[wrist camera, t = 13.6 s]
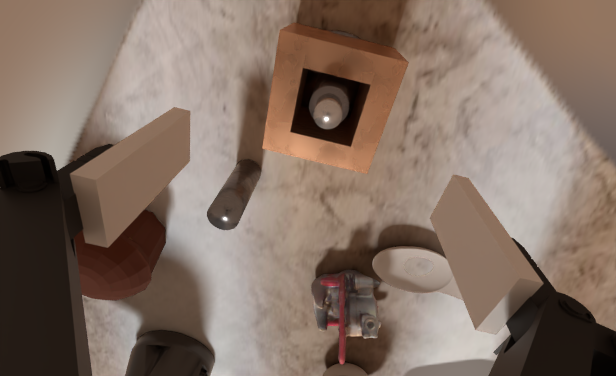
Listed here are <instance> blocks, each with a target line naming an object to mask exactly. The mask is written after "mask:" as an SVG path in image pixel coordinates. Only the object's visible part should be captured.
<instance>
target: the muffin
mask: <svg viewBox="0 0 616 376" xmlns="http://www.w3.org/2000/svg"><path fill="white" fill-rule="evenodd" d="M74 241H75V245H76V253H77V261H78V269H79V277H80V284H81V292H82V295H84V296H87V297H90V298H94V299H102V300H119V299H123V298H126V297H129V296H132V295H135V294H137V293H139V292H140V291H143V290H145V289H146V287H147V286H148V284H149V282H150V281H151V273H152V271H153V269H154V267H155V265H156V262H157V260H158V258H159V256H160V254H161V252H162V250H163V248H164V245H165V243H166V241H165V227H164V226H163V225H162V224H161V223H160V222H159V221H158V219H157V218H156V216H155V215H154V213H152V212H150V211H147V210H145V209H144V210H143V211H142V212H141V213H140V214H139V215H138V216H137V218H136V219H135V220H134V221H133V222H132V223H131V224H130V225H129V226H128V227H127V228H126V229H125V230H124V231H123V232H122V233H121V234H120V236H119V237H118V238H117V239H116V240H115V241H114V242H113V243H112V244H111V245H110V246H109V247H108V248H107V247H102V246H98V245H93V244H89V243H85V238H84V234H83V230H82V231H80V232H79V233H78V234H77V235H76V236H75V237H74Z"/></svg>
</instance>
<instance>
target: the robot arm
mask: <svg viewBox="0 0 616 376" xmlns="http://www.w3.org/2000/svg"><path fill="white" fill-rule="evenodd" d="M189 161H190V111H188V110H184V109H180V108H176V107H174V108H172V109H171V110H169V111H168V112H166V113H165V114H163V115H161V116H160V117H158V118H157V119H155V120H154V121H152V122H150V123H149V124H147V125H146V126H144V127H143V128H141V129H139V130H138V131H136V132H135V133H133V134H132V135H130V136H128V137H127V138H125V139H124V140H122V141H121V142H119V143H117V144H116V145H112V144H108V145H104V146H101V147H97V148H95V149H93V150H91V151H90V152H88V153H86V154H85V156H84V155H83V156H81V157H80V158H78V159H77V161H73V162H71V163H70V164H68V165H66V166H65V167H63V168H61V169H60V170H58V171H57V170H56V166H55V162H54V159H53V157H52V156H51V155H49V154H47V153H45V152H39V151H21V152H13V153H10V154H6V155H3V156H1V157H0V376H92V370H91V362H90V355H89V347H88V339H87V331H86V323H85V316H84V308H83V300H82V292H81V284H80V277H79V269H78V261H77V253H76V245H75V241H74V237H75V236H76V235H77V234H78V233H79V232H80V231H82V230H83V234H84V238H85V243H89V244H93V245H98V246H102V247H107V248H108V247H109V246H110V245H111V244H112V243H113V242H114V241H115V240H116V239H117V238H118V237H119V236H120V234H121V233H122V232H123V231H124V230H125V229H126V228H127V227H128V226H129V225H130V224H131V223H132V222H133V221H134V220H135V219H136V218H137V216H138V215H139V214H140V213H141V212H142V211H143V210H144V209H145V208H146V207H147V206H148V205H149V204H150V203H151V202H152V201H153V200H154V198H155V197H156V196H157V195H158V194H159V193H160V192H161V191H162V190H163V189H164V188H165V187H166V186H167V185H168V184H169V183H170V182H171V180H172V179H173V178H174V177H175V176H176V175H177V174H178V173H179V172H180V171H181V170H182V169H183V168H184V167H185V166H186V165H187V164H188V162H189ZM430 219H431V222H432V224H433V227H434V229H435V232H436V234H437V237H438V239H439V241H440V244H441V246H442V249H443V251H444V254H445V256H446V259H447V261H448V264H449V266H450V268H451V271H452V273H453V276H454V278H455V281H456V283H457V286H458V288H459V291H460V293H461V295H462V298H463V300H464V303H465V305H466V308H467V310H468V313H469V315H470V318H471V320H472V322H473V325H474V327H475V330H478V331H482V332H487V333H491V334H497V333H498V332H499V331H500V330H501V329H502V328H503V327H504V326H505V325H507V327H508V329H509V331H510V333H511V335H510V336H509V337H508V338H507V339H506V340H505V341H504V342H503V343H502V344H501V345H500V346H499V347H498V348H497V349H496V350H495V351H494V352H493V353H495V354H496V355H497V354H498V353H499V354H498V356H497V359H496V361H495V363H494V365H493V367H492V369H491V372H490V374H489V376H616V331H613V330H611V329H609V328H607V327H604V326H602V325H600V324H598V323H596V320H595V318H594V317H593V315H592V314H591V312H590V311H589V310H588V309H587V308H586V307H584V306H583V305H582V304H581V303H579V302H578V301H577V300H575V299H573V298H572V297H570V296H568V295H566V294H562V293H559V292H556V290H555V289H554V287H553V286H552V285H551V283H550V282H549V281H548V279H547V278H546V277H545V275H544V274H543V273H542V271H541V270H540V269H539V267H537V264H536V263H535V262H534V260H533V259H531V256H530V255H529V254H528V252H527V251H526V250H525V248H524V247H523V246H522V245H520V244H519V243H518V242H517V241H516V240H515V239H514V238H511V237H510V236H509V234H508V233H507V231H506V230H505V229H504V227H503V226H502V224H501V223H500V222H499V220H498V219H497V217H496V216H495V215H494V213H493V212H492V210H491V209H490V208H489V206H488V205H487V203H486V202H485V201H484V199H483V198H482V196H481V195H480V194H479V192H478V191H477V189H476V188H475V187H474V185H473V184H472V182H471V181H470V180H469V178H466V177H462V176H458V175H453V176H452V178H451V180H450V182H449V184H448V185H447V187H446V189H445V191H444V193H443V195H442V196H441V198H440V200H439V202H438V204H437V206H436V208H435V209H434V211H433V213H432V215H431V217H430ZM213 366H214V358H213V356H212V354H211V352H210V351H209V350H208V349H207V348H206V347H205V346H204V345H202V344H201V343H199V342H198V341H196V340H194V339H192V338H190V337H188V336H185V335H182V334H179V333H175V332H170V331H152V332H148V333H145V334H143V335H142V336H141V337H140V338H139V339H138V341H137V342H136V344H135V346H134V347H133V349H132V351H131V355H130V359H129V362H128V366H127V370H126V374H125V376H210V375H211V372H212V369H213Z"/></svg>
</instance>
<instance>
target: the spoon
mask: <svg viewBox="0 0 616 376" xmlns="http://www.w3.org/2000/svg"><path fill="white" fill-rule="evenodd" d="M415 257H420V258H426V259H428V260H430V261H431V262H432V263H433V269H432V270H431V271H430V272H429V273H427V274H425V275H422V276H414V275H411V274H409V273H408V272H407V271H406V270H405V268H404V263H405V262H406V261H407V260H408V259H410V258H415ZM372 266H373V269H374V271H375V273H376V274H377V275H378V277H379V278H380V279H381V280H383V281H384V282H385V283H387V284H388V285H390V286H392V287H395V288H398V289H401V290H404V291H408V292H414V293H431V292H441V293H445V294H448V295H451V296H453V297H456V298H458V299H461V300H463V298H462V295H461V293H460V291H459V288H458V286H457V283H456V281H455V278H454V276H453V273H452V271H451V268H450V266H449V264H448V261H447V259H446V258H445V257H444V256H442V255H441V254H439V253H437V252H435V251H432V250H429V249H426V248H421V247H414V246H399V247H392V248H388V249H385V250H382V251H381V252H379V253H378V254H377V255H376V256H375V257H374V259H373V262H372ZM463 301H464V300H463Z"/></svg>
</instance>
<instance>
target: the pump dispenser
mask: <svg viewBox="0 0 616 376" xmlns="http://www.w3.org/2000/svg"><path fill="white" fill-rule="evenodd" d="M323 376H368V375H367V373H366V372H365V371H364V370H363V369H362V368H360V367H358V366H356V365H354V364H350V363H344V364H340V363H338V364H335V365H333V366H331V367H329V368H328V369H327V370H326V371H325V373H324V374H323Z"/></svg>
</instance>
